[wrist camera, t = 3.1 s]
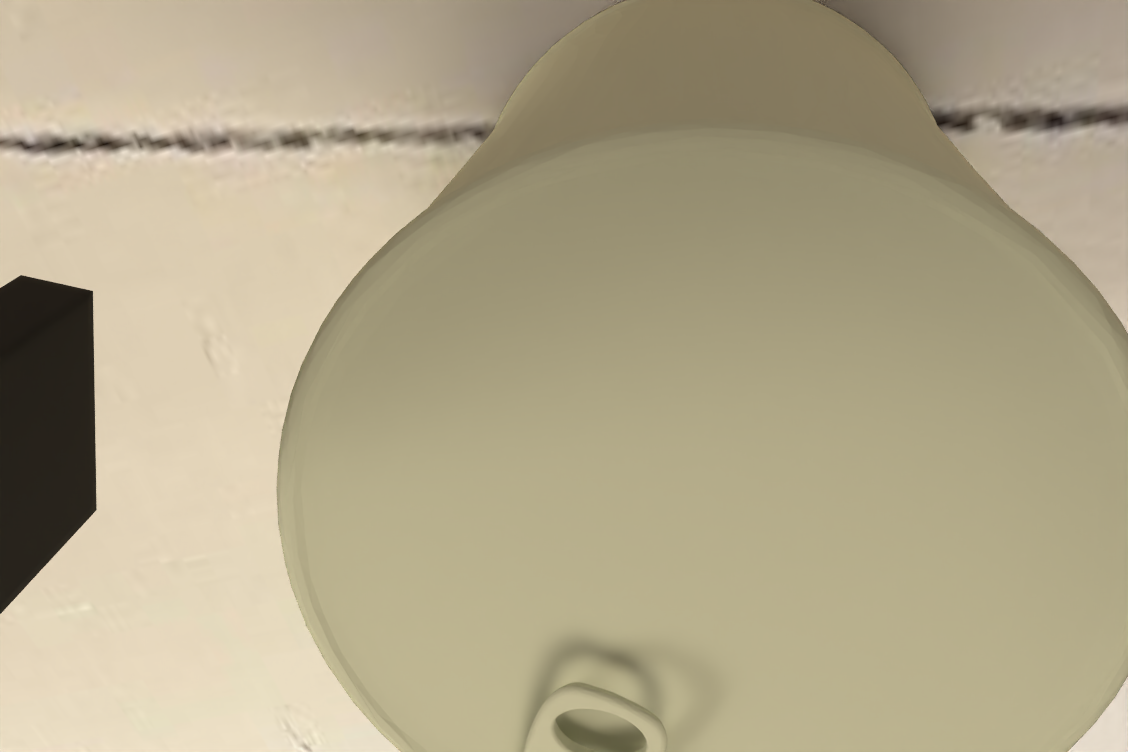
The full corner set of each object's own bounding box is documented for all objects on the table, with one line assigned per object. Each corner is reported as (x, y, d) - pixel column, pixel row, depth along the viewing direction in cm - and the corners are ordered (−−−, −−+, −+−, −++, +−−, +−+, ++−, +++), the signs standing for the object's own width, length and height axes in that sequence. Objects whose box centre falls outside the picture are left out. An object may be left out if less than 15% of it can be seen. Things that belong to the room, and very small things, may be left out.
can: (419, 329, 23) (163, 735, 12) (583, -105, 19) (413, -62, 8) (807, 494, 24) (884, 1018, 13) (1047, 105, 20) (1452, 402, 9)
